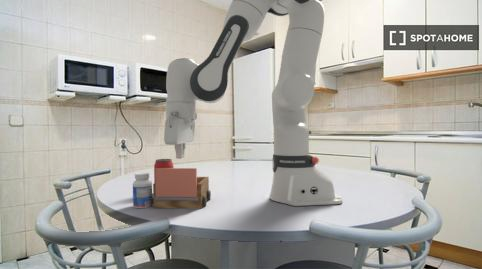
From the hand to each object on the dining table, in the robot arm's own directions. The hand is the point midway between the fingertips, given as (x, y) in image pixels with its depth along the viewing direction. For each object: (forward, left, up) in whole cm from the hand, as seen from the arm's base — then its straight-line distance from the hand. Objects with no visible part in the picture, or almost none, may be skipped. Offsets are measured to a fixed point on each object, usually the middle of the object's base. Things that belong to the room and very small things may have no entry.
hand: (180, 158), depth 84 cm
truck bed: (-1, -1, -14) cm, 14 cm away
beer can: (+9, -13, -14) cm, 21 cm away
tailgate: (-1, +6, -11) cm, 12 cm away
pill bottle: (+10, +3, -14) cm, 18 cm away
